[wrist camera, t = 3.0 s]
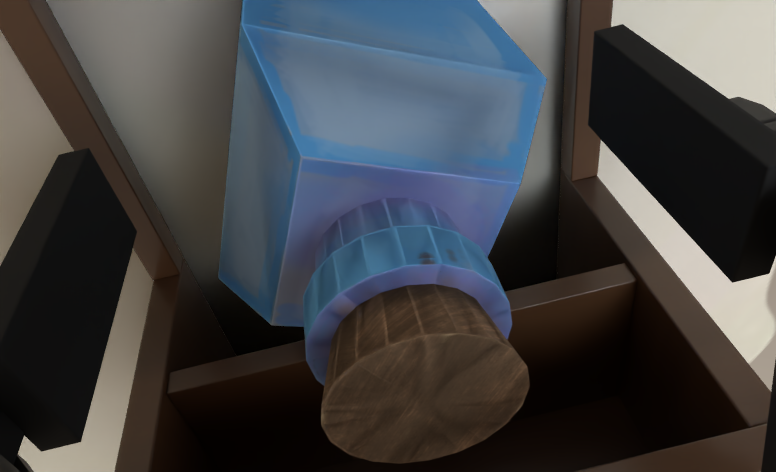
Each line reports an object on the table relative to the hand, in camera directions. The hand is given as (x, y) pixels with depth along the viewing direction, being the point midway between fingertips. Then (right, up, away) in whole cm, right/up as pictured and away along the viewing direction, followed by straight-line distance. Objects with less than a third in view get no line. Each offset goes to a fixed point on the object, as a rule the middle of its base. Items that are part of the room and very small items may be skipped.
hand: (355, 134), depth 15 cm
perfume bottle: (-1, +2, +3) cm, 4 cm away
